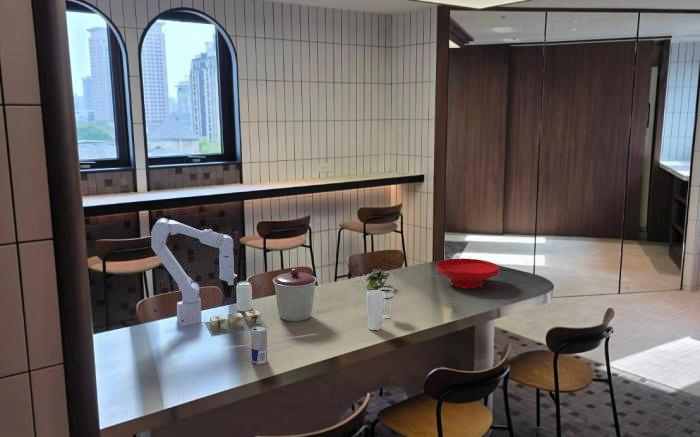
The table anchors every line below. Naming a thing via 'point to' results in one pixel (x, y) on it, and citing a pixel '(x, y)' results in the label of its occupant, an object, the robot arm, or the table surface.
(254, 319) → the block numbered 7
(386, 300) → the wineglass
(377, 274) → the green leafy plant
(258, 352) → the energy drink
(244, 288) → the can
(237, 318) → the plain block
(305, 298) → the canister
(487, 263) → the bowl
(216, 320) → the beige square block
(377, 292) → the drinking glass
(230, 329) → the mat
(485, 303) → the table surface
